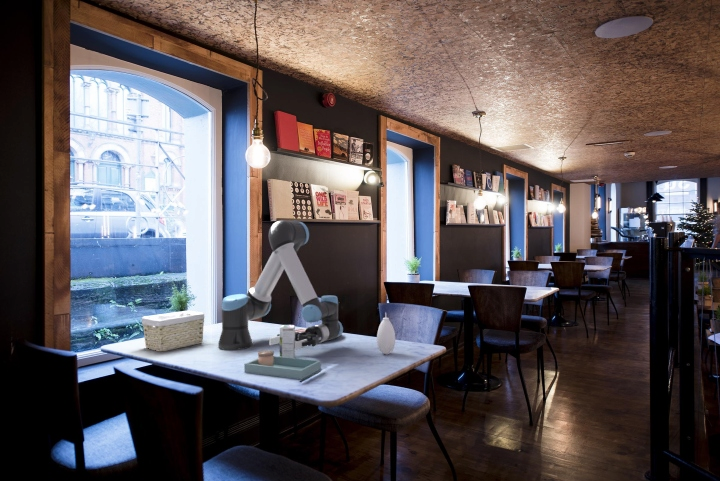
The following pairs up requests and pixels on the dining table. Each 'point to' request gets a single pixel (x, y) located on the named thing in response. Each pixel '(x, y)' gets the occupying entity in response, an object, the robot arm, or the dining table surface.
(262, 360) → the jar
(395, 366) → the dining table surface
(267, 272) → the robot arm
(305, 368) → the tray
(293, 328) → the syrup box
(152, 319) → the storage basket
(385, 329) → the air blower bulb
